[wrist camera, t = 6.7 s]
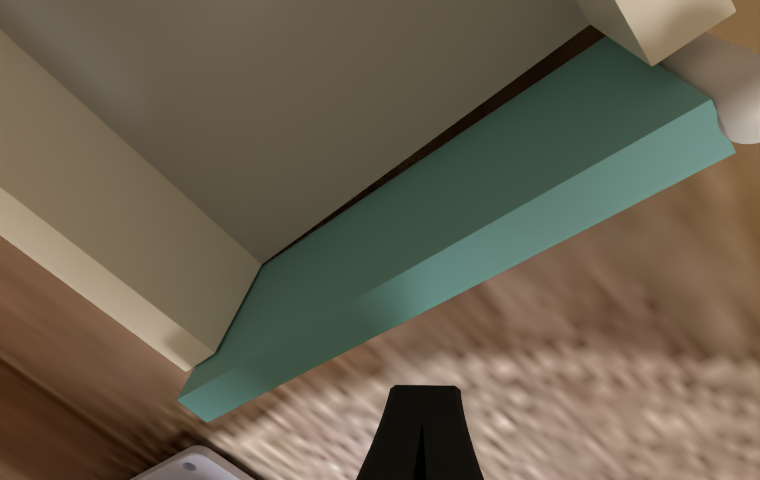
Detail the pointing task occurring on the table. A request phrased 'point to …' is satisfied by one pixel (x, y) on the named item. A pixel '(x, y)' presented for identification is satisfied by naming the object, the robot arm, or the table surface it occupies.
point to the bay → (246, 127)
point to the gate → (486, 206)
